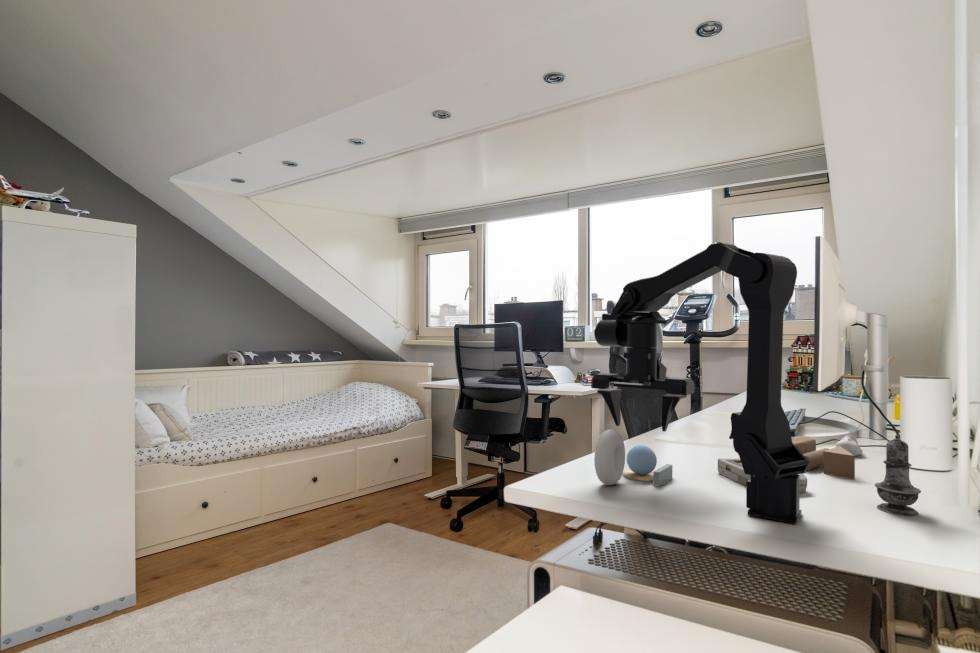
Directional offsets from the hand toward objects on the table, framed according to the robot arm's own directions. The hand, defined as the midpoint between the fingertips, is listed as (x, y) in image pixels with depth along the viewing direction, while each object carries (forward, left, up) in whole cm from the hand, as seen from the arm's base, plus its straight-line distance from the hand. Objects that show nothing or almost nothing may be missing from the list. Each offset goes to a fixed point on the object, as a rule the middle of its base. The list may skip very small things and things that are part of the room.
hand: (640, 428), depth 105 cm
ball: (0, 0, -6) cm, 6 cm away
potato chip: (0, 0, -9) cm, 9 cm away
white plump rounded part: (+2, +10, -9) cm, 14 cm away
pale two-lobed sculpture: (-31, -52, -10) cm, 61 cm away
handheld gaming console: (-19, -10, -10) cm, 24 cm away
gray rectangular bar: (-5, +1, -9) cm, 10 cm away
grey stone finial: (-40, -5, -9) cm, 41 cm away
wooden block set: (-27, -34, -10) cm, 45 cm away
